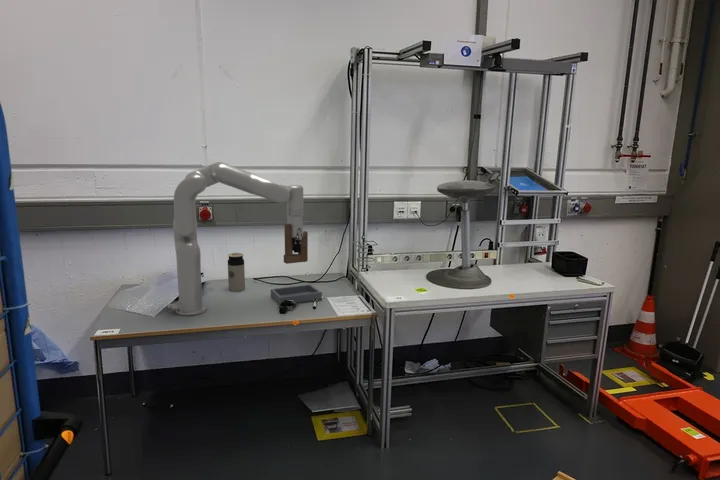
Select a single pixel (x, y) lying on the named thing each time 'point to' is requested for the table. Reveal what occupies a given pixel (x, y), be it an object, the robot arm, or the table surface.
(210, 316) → the table surface
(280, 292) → the tray
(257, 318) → the table surface
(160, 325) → the table surface
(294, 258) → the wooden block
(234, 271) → the travel mug
